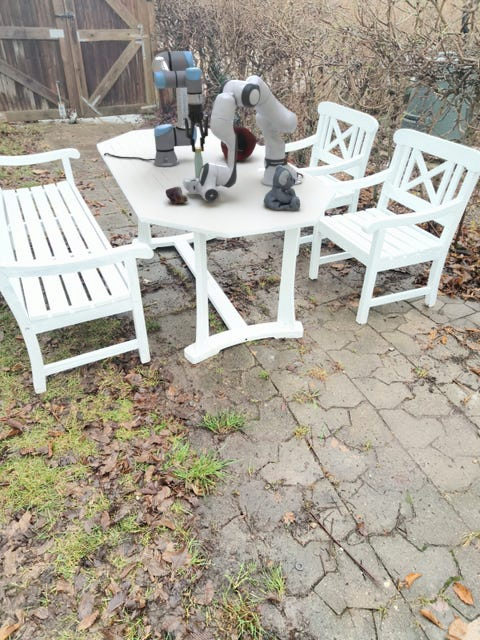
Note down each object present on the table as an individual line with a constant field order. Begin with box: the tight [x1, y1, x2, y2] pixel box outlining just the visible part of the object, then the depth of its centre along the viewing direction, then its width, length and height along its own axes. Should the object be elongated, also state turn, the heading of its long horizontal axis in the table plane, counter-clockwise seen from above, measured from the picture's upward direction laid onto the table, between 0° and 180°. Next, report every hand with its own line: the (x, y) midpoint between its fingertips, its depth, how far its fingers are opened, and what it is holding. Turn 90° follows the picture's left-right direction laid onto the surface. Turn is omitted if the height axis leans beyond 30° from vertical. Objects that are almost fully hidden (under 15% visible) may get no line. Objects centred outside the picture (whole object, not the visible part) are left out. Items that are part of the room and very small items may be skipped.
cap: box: [194, 146, 203, 153], centre depth 238 cm, size 4×4×2 cm
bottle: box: [193, 151, 204, 178], centre depth 244 cm, size 5×5×22 cm
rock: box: [165, 186, 188, 204], centre depth 232 cm, size 12×9×10 cm
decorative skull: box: [220, 125, 257, 164], centre depth 297 cm, size 21×24×25 cm
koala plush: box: [263, 165, 301, 211], centre depth 223 cm, size 17×18×20 cm
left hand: (197, 151), depth 239 cm, fingers closed on cap, 4 cm apart
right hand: (199, 178), depth 248 cm, fingers closed on bottle, 4 cm apart
